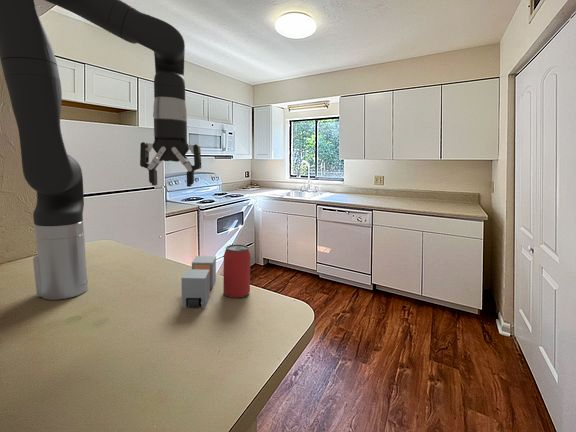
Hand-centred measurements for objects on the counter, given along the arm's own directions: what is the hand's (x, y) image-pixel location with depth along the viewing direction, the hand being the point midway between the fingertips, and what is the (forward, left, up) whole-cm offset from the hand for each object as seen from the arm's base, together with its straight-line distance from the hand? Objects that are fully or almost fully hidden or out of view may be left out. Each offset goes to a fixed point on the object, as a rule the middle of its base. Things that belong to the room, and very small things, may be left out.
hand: (171, 185), depth 80 cm
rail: (+8, -6, -26) cm, 28 cm away
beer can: (+17, -6, -26) cm, 32 cm away
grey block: (+8, -11, -26) cm, 29 cm away
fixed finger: (+8, 0, -26) cm, 27 cm away
